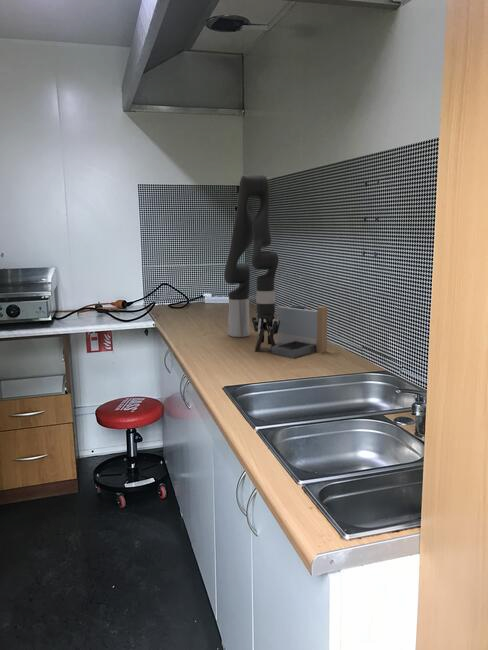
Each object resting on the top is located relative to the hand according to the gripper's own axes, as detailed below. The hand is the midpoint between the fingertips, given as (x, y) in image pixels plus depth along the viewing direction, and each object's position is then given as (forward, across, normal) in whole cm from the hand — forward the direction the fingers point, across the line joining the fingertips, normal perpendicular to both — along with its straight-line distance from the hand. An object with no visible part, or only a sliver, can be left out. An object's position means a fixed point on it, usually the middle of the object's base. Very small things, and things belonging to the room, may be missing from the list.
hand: (266, 343), depth 215 cm
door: (+3, +8, +12) cm, 15 cm away
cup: (+3, -2, +22) cm, 22 cm away
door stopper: (+3, 0, 0) cm, 3 cm away
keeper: (+3, +12, +4) cm, 13 cm away
